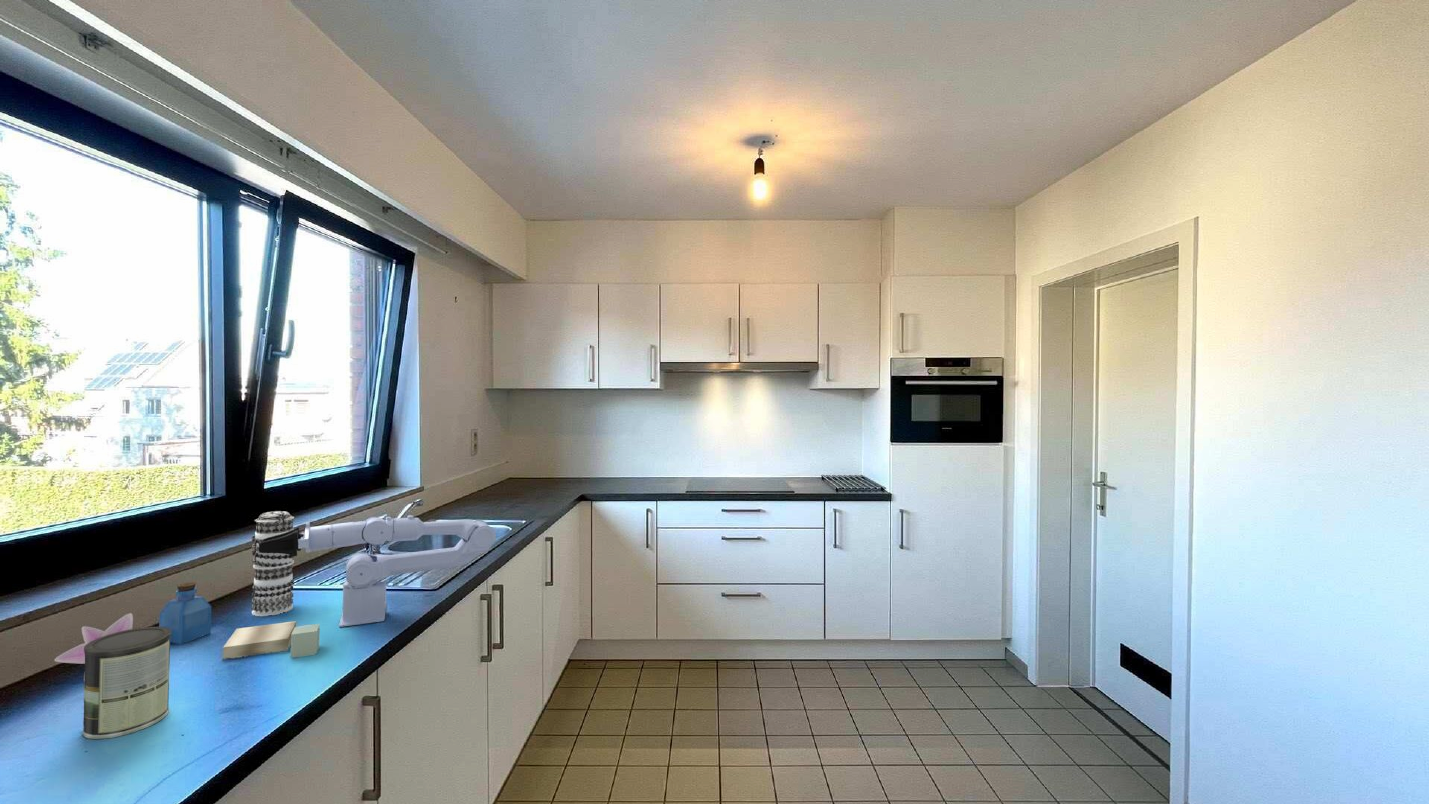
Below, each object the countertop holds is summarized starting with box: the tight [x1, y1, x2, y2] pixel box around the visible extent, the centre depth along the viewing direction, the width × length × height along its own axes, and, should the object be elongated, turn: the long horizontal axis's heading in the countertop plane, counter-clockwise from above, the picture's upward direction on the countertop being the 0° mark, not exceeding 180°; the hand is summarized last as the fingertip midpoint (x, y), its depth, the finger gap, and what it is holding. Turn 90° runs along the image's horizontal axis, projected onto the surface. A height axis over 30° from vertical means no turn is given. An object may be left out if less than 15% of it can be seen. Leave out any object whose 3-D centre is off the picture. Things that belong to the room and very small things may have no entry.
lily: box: [53, 612, 134, 680], centre depth 114 cm, size 12×12×10 cm
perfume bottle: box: [158, 581, 212, 645], centre depth 131 cm, size 6×6×12 cm
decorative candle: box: [251, 510, 295, 617], centre depth 148 cm, size 9×9×25 cm
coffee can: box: [82, 626, 171, 740], centre depth 97 cm, size 10×10×14 cm
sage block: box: [290, 623, 321, 659], centre depth 125 cm, size 4×4×5 cm
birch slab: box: [222, 620, 297, 660], centre depth 128 cm, size 11×11×3 cm
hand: (261, 545), depth 133 cm, fingers open, 7 cm apart
